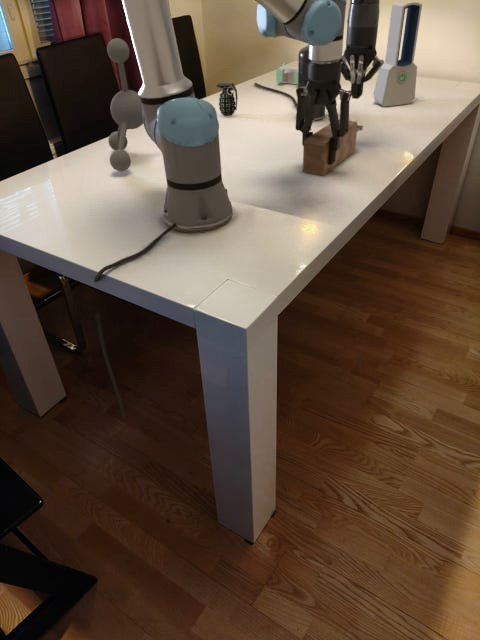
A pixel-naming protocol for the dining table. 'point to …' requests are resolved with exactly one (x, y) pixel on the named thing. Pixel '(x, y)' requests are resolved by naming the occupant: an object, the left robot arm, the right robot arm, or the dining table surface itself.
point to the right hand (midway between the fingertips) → (356, 97)
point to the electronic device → (398, 74)
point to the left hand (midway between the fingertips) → (319, 160)
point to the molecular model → (123, 108)
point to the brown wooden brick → (326, 149)
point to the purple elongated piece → (358, 129)
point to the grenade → (227, 99)
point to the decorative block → (288, 73)
